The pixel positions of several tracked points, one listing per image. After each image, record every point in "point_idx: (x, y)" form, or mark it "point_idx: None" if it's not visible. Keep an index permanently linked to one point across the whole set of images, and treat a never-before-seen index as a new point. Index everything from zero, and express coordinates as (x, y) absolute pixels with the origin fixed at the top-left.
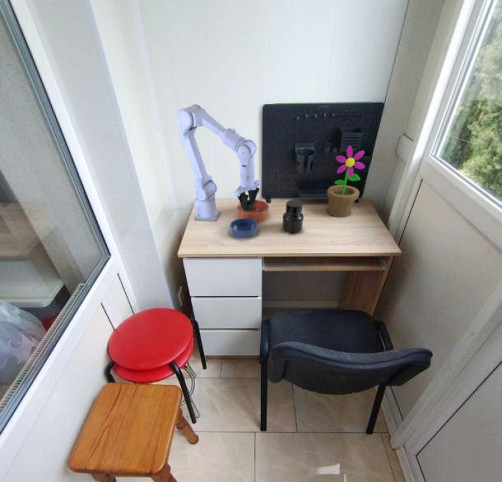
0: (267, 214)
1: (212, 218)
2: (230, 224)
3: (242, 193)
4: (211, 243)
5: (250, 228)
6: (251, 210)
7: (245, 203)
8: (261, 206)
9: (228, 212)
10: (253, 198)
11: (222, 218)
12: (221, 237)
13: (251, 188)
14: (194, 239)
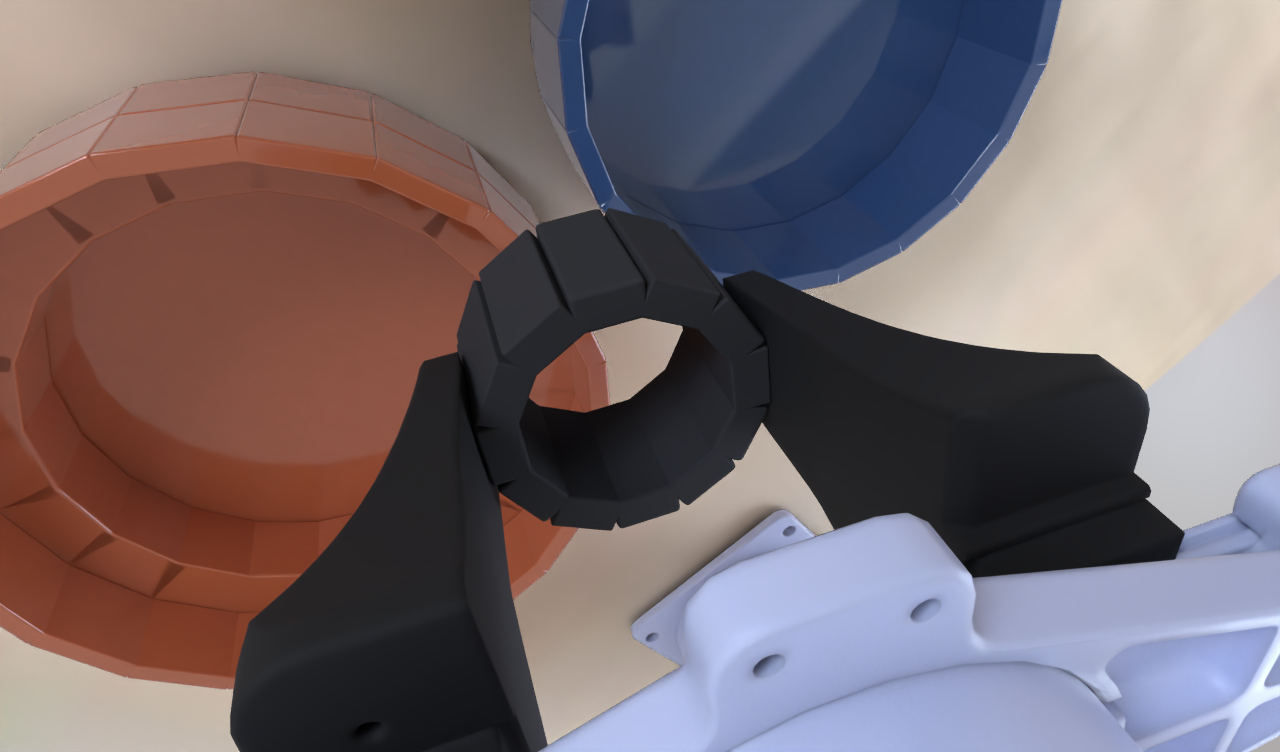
0: (60, 139)
1: (792, 542)
2: (941, 213)
3: (1137, 547)
4: (1209, 88)
5: (628, 18)
6: (613, 209)
7: (873, 322)
8: (16, 474)
9: (532, 593)
10: (468, 466)
11: (688, 508)
12: (1044, 127)
13: (980, 629)
14: (1197, 287)
